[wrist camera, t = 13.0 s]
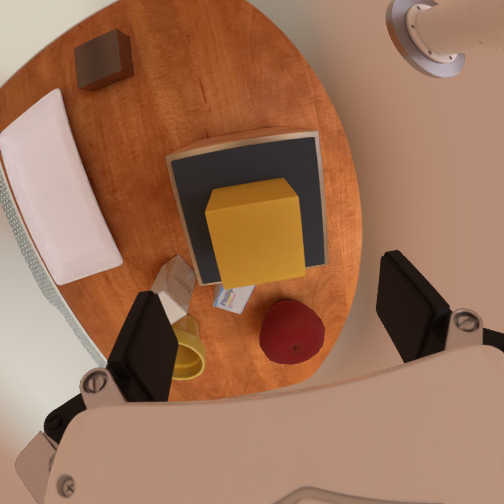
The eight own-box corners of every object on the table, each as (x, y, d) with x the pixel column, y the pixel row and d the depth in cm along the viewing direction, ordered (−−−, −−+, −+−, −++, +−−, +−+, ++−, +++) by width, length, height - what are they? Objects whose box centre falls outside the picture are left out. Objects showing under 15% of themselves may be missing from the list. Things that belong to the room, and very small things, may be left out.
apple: (259, 334, 53) (263, 380, 43) (253, 290, 49) (258, 336, 38) (314, 327, 53) (328, 371, 43) (315, 283, 49) (334, 326, 38)
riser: (281, 125, 36) (318, 130, 20) (292, 204, 42) (328, 265, 25) (197, 140, 37) (164, 156, 20) (214, 217, 42) (199, 286, 25)
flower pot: (219, 332, 53) (217, 370, 44) (179, 350, 55) (172, 386, 46) (186, 295, 48) (177, 332, 40) (146, 317, 50) (133, 353, 42)
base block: (129, 36, 28) (116, 28, 24) (134, 75, 31) (121, 70, 27) (89, 53, 29) (74, 48, 24) (94, 90, 32) (78, 89, 27)
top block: (283, 177, 21) (298, 195, 16) (291, 241, 23) (306, 276, 18) (212, 189, 21) (204, 211, 16) (226, 252, 23) (223, 290, 18)
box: (198, 274, 47) (189, 316, 37) (180, 287, 48) (168, 329, 38) (177, 252, 45) (162, 290, 35) (159, 266, 46) (141, 305, 36)
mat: (313, 136, 20) (314, 137, 19) (323, 261, 25) (325, 264, 24) (171, 160, 20) (170, 161, 20) (203, 281, 25) (202, 284, 25)
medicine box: (240, 283, 48) (241, 316, 40) (215, 275, 47) (212, 307, 39) (258, 244, 45) (263, 272, 37) (232, 235, 44) (231, 261, 36)
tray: (69, 86, 30) (57, 85, 27) (131, 256, 44) (124, 266, 41) (8, 133, 32) (-4, 136, 29) (65, 277, 46) (57, 287, 43)
